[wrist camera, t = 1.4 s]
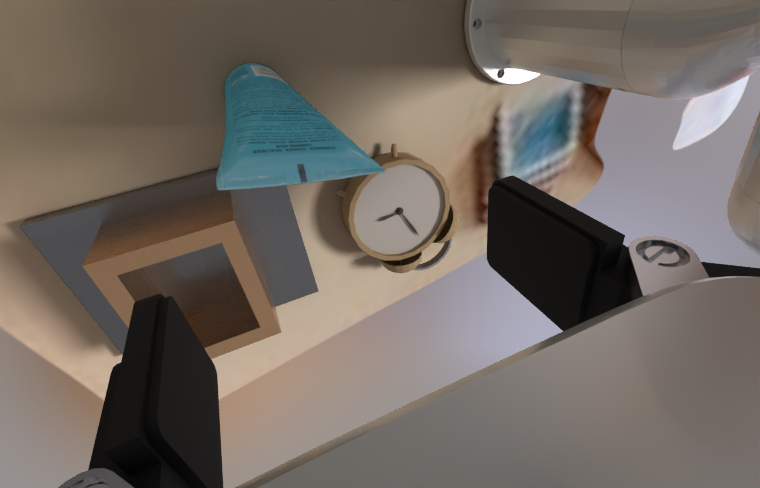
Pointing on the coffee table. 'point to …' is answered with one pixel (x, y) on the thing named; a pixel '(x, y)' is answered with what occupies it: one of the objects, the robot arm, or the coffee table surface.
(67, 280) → the wooden box on base
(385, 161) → the alarm clock
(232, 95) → the tube
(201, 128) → the coffee table surface
